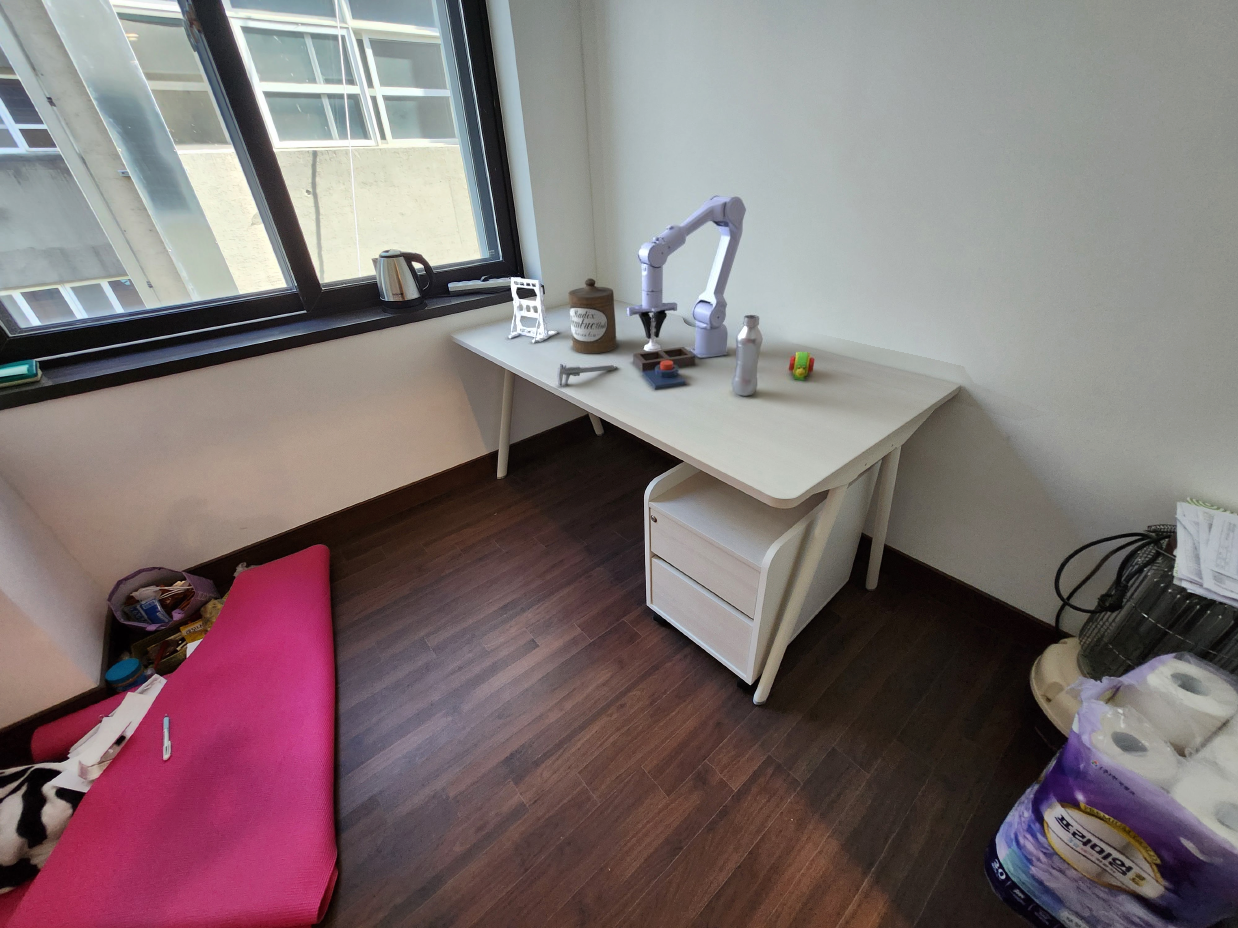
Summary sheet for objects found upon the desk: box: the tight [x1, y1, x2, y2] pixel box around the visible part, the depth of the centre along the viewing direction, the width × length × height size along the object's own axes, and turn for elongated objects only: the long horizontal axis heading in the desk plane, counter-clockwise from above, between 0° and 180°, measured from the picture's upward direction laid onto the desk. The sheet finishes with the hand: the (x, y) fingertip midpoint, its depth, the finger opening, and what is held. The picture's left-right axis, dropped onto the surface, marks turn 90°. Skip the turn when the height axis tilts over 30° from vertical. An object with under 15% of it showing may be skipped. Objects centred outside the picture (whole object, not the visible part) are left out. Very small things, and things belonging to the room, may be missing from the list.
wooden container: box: [567, 277, 617, 355], centre depth 158 cm, size 15×15×22 cm
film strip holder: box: [508, 276, 558, 344], centre depth 171 cm, size 14×14×20 cm
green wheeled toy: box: [788, 351, 815, 381], centre depth 137 cm, size 6×20×7 cm, turn 160°
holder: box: [632, 346, 696, 373], centre depth 146 cm, size 17×9×3 cm, turn 106°
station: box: [641, 364, 687, 390], centre depth 136 cm, size 9×11×3 cm
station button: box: [660, 360, 673, 371], centre depth 136 cm, size 4×4×2 cm
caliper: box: [556, 363, 618, 387], centre depth 139 cm, size 20×1×6 cm, turn 129°
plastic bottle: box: [731, 314, 764, 397], centre depth 121 cm, size 6×7×20 cm
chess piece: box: [643, 314, 662, 352], centre depth 141 cm, size 5×5×10 cm
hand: (652, 337), depth 142 cm, fingers closed on chess piece
